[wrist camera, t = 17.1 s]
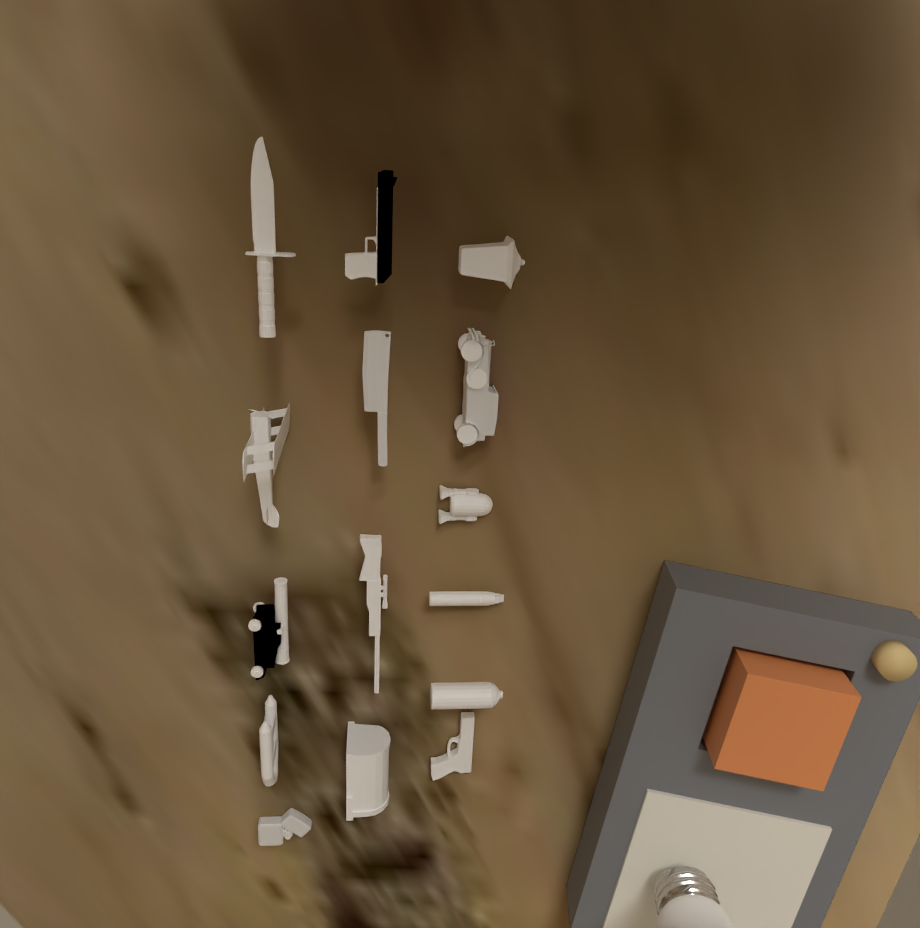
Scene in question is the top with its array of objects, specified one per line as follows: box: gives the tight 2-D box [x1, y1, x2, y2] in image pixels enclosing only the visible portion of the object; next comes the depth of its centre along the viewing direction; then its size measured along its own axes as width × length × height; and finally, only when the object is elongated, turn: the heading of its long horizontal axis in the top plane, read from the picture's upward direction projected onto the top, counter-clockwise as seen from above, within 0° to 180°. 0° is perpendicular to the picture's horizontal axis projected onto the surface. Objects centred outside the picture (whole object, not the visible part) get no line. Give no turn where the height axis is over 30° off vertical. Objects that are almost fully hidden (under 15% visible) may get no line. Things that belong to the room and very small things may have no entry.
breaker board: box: [566, 560, 920, 928], centre depth 39 cm, size 20×12×4 cm, turn 169°
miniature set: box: [242, 137, 525, 846], centre depth 37 cm, size 6×35×12 cm
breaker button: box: [702, 646, 862, 791], centre depth 37 cm, size 5×5×4 cm
